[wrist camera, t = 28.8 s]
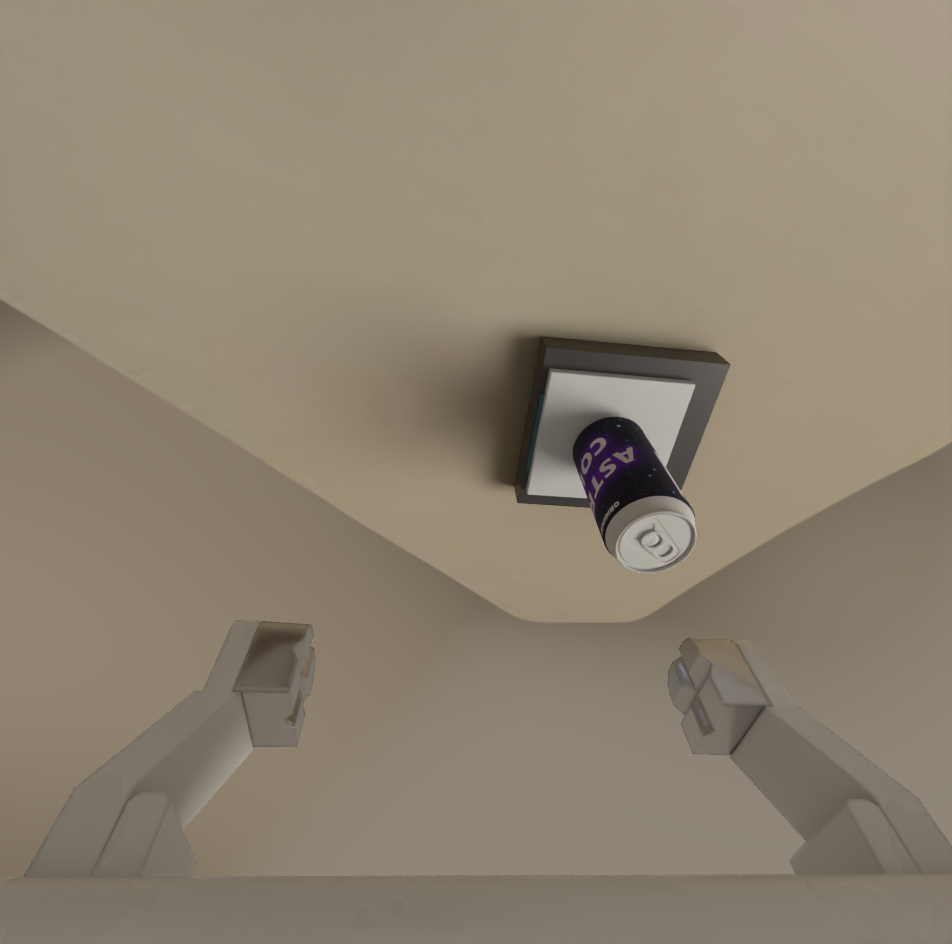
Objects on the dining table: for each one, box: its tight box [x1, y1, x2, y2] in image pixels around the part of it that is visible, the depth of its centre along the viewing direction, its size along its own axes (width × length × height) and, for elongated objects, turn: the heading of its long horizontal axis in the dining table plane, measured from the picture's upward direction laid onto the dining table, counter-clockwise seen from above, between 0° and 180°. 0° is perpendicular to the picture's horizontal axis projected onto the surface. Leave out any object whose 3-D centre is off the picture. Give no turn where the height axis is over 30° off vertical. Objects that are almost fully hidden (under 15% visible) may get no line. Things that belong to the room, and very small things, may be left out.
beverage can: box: [573, 417, 697, 574], centre depth 36 cm, size 6×6×12 cm
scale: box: [515, 337, 730, 508], centre depth 43 cm, size 14×14×3 cm
